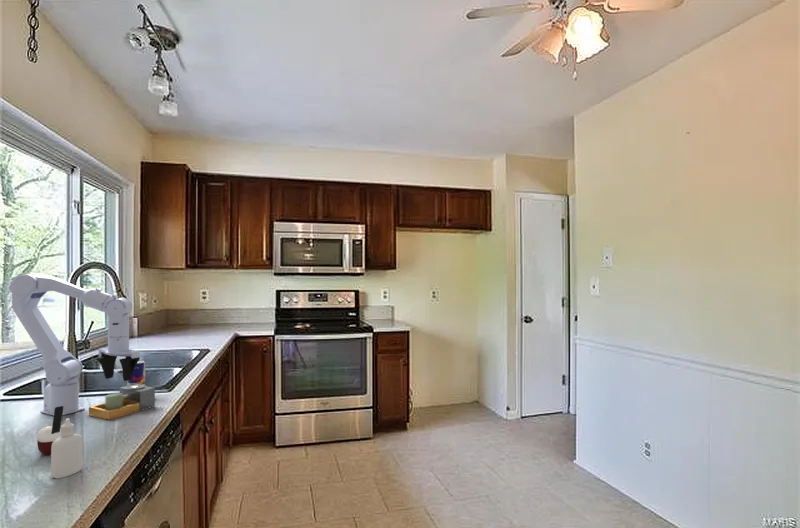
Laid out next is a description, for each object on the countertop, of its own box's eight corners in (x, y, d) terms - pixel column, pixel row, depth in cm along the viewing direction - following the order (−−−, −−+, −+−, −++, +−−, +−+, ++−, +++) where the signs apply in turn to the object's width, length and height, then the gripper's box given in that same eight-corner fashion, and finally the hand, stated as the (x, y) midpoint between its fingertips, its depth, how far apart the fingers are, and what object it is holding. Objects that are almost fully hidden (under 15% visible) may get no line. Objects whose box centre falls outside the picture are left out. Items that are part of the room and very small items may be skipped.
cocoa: (41, 449, 113) (40, 401, 113) (72, 444, 116) (70, 397, 116) (32, 463, 105) (31, 410, 105) (65, 456, 108) (64, 406, 108)
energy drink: (136, 399, 153) (137, 364, 153) (123, 398, 154) (123, 363, 154) (148, 395, 159) (149, 360, 159) (135, 394, 160) (135, 360, 160)
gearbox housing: (88, 415, 137) (88, 393, 137) (134, 402, 151) (134, 382, 151) (109, 420, 133) (109, 397, 133) (154, 406, 146) (154, 385, 146)
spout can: (101, 414, 138) (101, 396, 138) (122, 408, 144) (122, 390, 144) (112, 416, 137) (112, 398, 137) (132, 410, 143) (132, 392, 143)
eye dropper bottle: (50, 473, 100) (51, 418, 100) (82, 466, 103) (82, 413, 103) (50, 480, 96) (51, 424, 96) (83, 473, 100) (83, 419, 100)
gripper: (89, 336, 142) (89, 380, 142) (124, 339, 138) (124, 384, 138) (110, 333, 149) (109, 374, 149) (144, 336, 144) (144, 378, 144)
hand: (118, 379), depth 144 cm, fingers open, 7 cm apart
